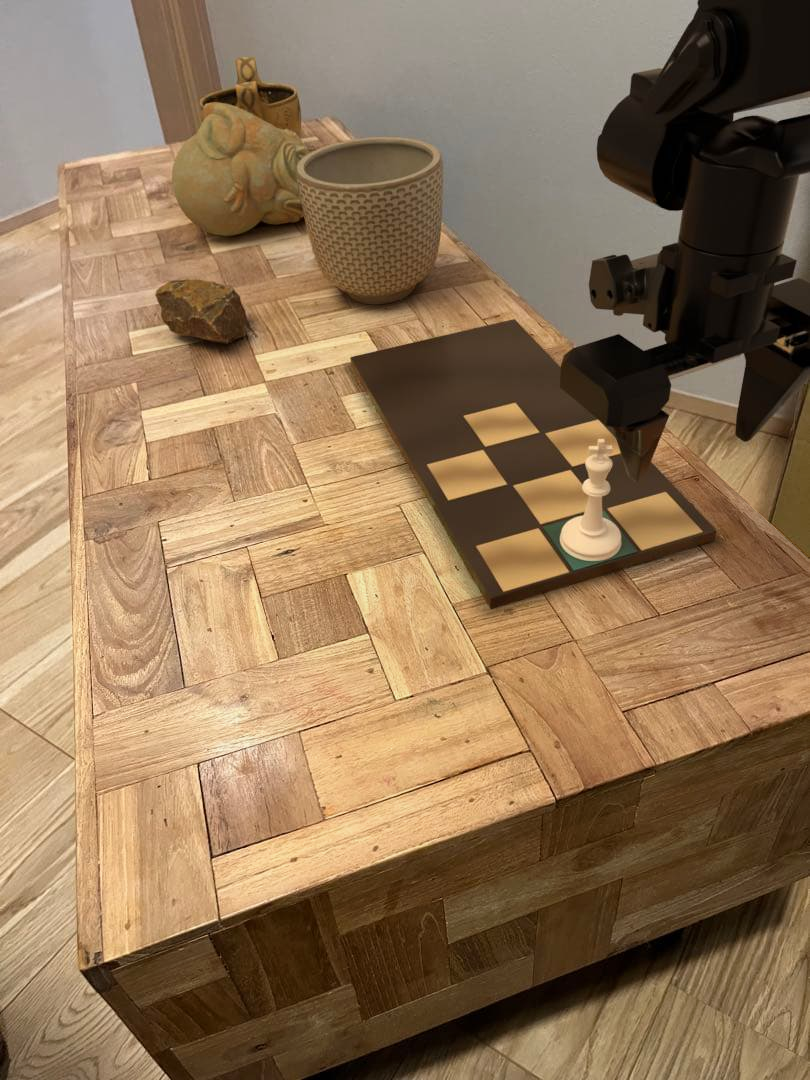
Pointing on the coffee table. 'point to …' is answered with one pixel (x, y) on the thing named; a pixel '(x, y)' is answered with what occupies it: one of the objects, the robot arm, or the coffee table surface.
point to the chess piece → (593, 513)
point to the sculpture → (238, 172)
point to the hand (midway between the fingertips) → (689, 457)
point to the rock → (202, 310)
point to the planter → (373, 214)
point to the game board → (515, 460)
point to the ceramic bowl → (260, 98)
